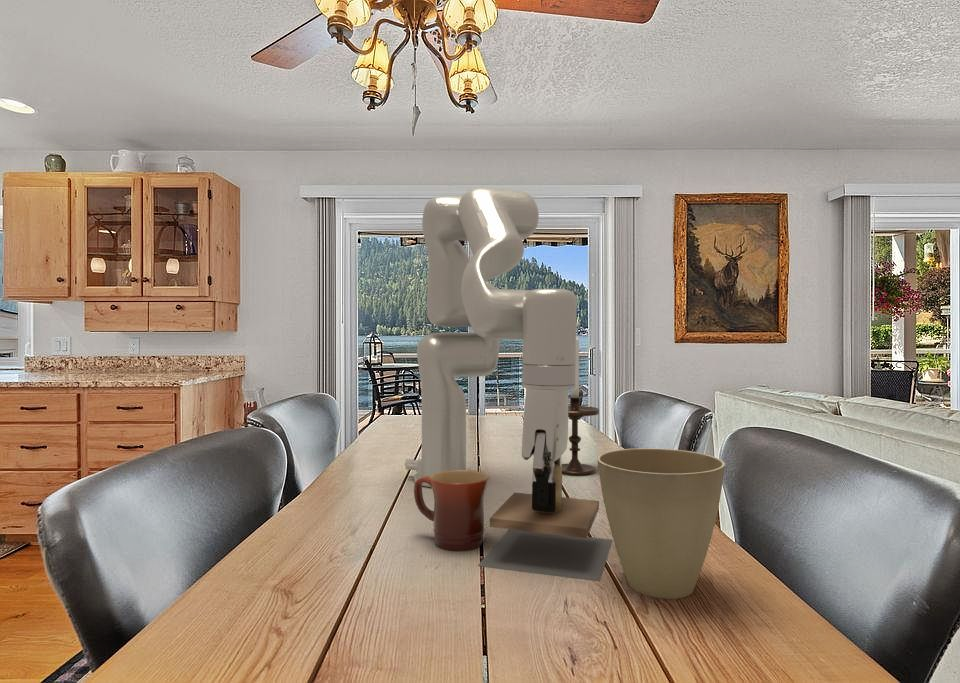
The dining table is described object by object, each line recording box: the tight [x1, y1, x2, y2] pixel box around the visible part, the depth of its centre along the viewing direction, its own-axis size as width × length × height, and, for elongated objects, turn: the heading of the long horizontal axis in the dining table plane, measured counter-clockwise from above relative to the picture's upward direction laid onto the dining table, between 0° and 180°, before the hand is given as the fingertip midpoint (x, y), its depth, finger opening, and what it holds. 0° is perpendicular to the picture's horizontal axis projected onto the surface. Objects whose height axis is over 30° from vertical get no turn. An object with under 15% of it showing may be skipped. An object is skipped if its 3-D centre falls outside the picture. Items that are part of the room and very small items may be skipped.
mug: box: [413, 469, 490, 552], centre depth 90 cm, size 12×9×10 cm
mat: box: [477, 529, 614, 582], centre depth 85 cm, size 16×16×1 cm
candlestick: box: [562, 326, 600, 477], centre depth 138 cm, size 11×11×35 cm
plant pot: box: [596, 447, 726, 600], centre depth 74 cm, size 15×15×16 cm
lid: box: [489, 464, 600, 538], centre depth 85 cm, size 13×13×7 cm
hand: (547, 504), depth 85 cm, fingers closed on lid, 4 cm apart
